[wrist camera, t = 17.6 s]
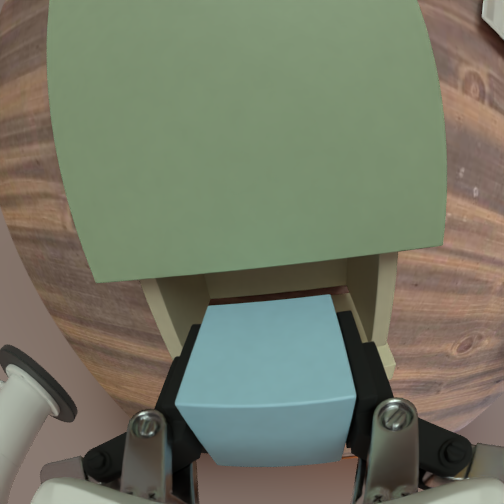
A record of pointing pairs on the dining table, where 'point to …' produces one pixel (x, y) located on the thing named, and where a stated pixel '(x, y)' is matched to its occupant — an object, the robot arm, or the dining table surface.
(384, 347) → the drawer
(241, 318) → the soap block
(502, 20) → the dessert
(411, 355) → the dining table surface
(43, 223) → the dining table surface
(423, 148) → the small drawer box
